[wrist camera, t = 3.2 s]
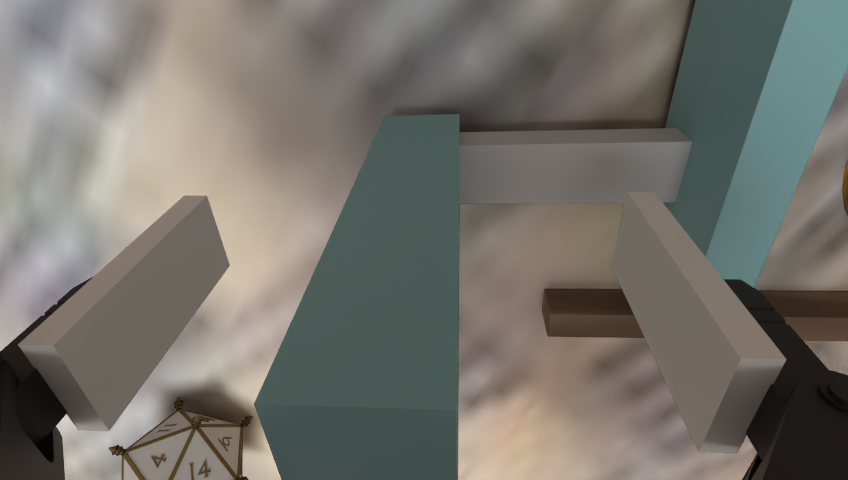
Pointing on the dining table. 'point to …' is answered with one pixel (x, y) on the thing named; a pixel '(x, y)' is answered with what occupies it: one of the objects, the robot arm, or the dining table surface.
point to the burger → (846, 188)
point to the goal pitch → (614, 318)
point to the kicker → (533, 183)
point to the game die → (186, 449)
